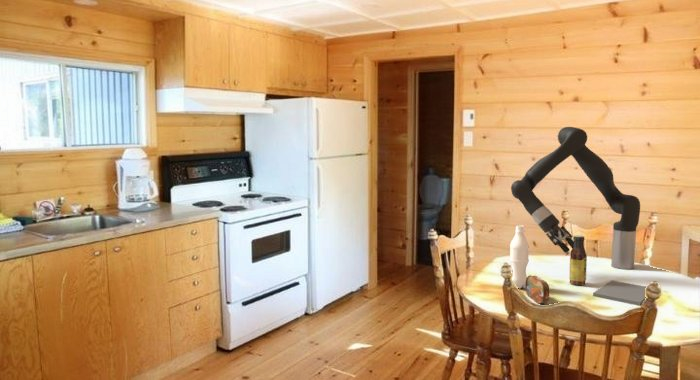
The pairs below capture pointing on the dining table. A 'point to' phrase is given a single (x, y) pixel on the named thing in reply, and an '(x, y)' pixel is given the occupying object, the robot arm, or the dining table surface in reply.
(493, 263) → the dining table surface
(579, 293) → the dining table surface
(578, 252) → the sauce bottle
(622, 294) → the charcoal board
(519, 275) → the water bottle
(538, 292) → the tin
